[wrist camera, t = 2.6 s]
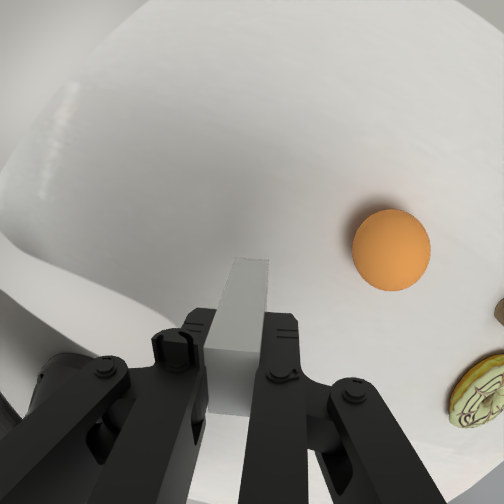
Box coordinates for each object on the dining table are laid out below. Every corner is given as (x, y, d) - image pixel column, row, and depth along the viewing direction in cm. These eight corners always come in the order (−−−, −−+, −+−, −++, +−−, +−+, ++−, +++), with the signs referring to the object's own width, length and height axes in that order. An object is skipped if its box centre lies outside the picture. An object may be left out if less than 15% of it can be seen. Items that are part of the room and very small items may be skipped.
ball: (340, 269, 24) (356, 305, 19) (349, 198, 22) (370, 217, 17) (405, 272, 24) (432, 306, 19) (417, 205, 22) (451, 225, 17)
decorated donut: (435, 423, 31) (444, 444, 27) (453, 361, 27) (467, 383, 24) (499, 400, 29) (510, 419, 26) (522, 338, 26) (537, 356, 22)
